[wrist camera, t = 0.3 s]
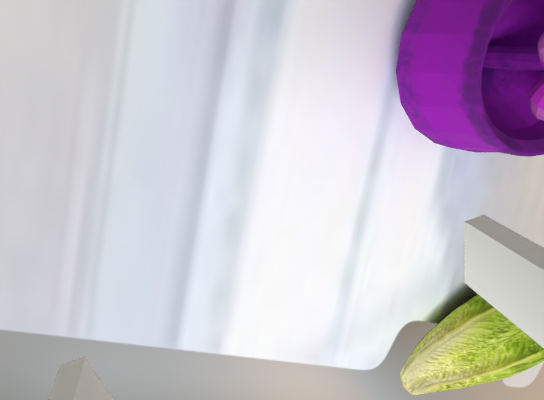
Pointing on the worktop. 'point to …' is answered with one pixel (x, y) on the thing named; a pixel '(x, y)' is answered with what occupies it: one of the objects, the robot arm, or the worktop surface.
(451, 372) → the lettuce
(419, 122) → the decorative plant
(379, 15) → the worktop surface
